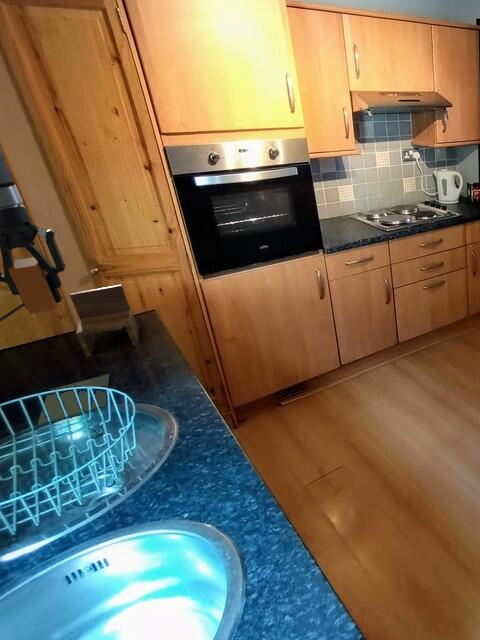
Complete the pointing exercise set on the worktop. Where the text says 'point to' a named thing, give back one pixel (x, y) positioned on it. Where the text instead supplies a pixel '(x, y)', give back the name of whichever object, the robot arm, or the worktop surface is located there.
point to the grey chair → (102, 314)
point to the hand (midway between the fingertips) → (44, 303)
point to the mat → (74, 400)
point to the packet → (32, 285)
